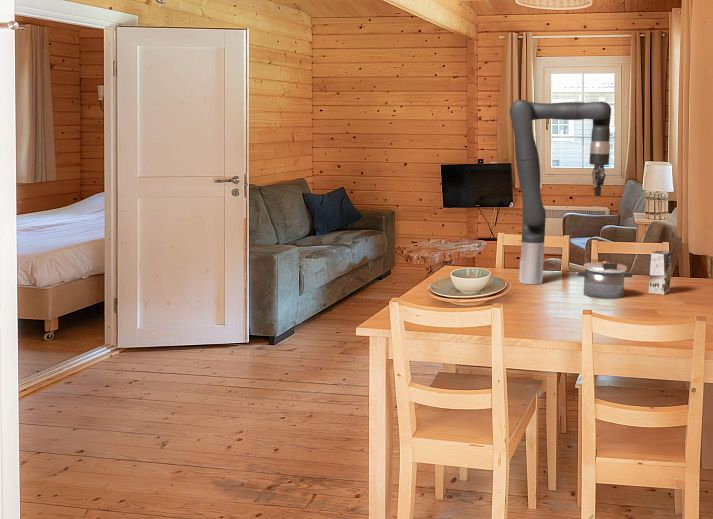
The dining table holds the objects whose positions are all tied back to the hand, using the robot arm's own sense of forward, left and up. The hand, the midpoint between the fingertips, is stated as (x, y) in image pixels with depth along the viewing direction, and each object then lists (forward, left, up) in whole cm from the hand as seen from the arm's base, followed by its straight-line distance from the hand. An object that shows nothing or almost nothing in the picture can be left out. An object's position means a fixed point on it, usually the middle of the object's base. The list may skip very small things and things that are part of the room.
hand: (597, 195), depth 367 cm
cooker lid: (0, -19, -27) cm, 33 cm away
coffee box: (+24, -10, -37) cm, 45 cm away
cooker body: (0, -18, -37) cm, 41 cm away
